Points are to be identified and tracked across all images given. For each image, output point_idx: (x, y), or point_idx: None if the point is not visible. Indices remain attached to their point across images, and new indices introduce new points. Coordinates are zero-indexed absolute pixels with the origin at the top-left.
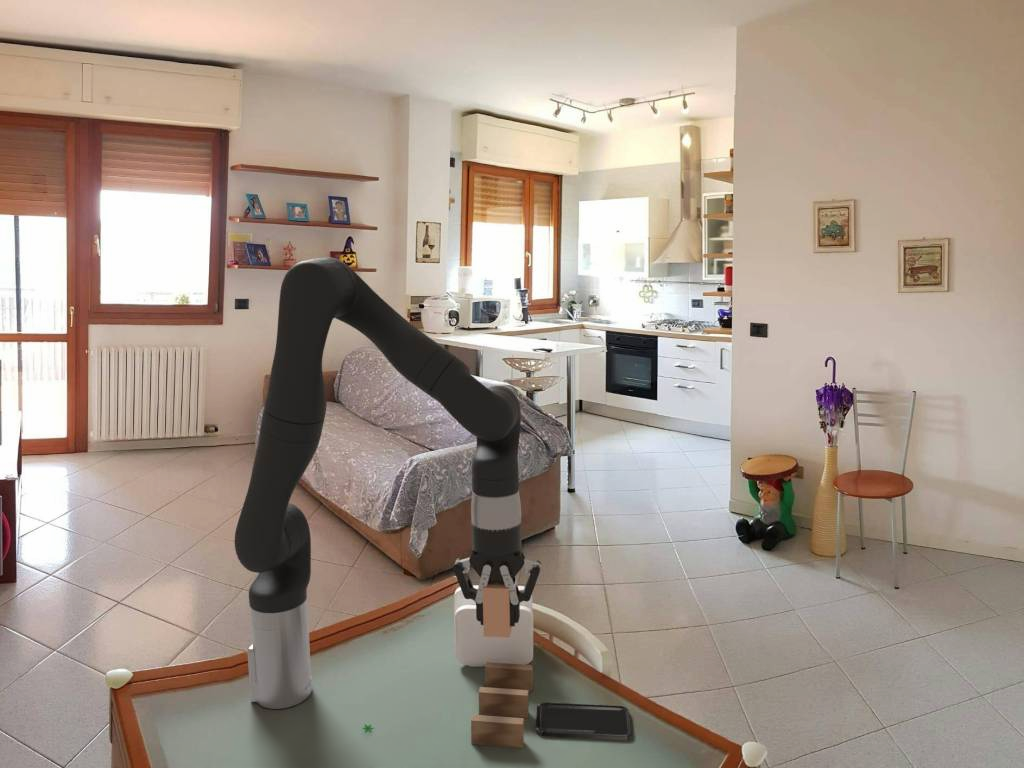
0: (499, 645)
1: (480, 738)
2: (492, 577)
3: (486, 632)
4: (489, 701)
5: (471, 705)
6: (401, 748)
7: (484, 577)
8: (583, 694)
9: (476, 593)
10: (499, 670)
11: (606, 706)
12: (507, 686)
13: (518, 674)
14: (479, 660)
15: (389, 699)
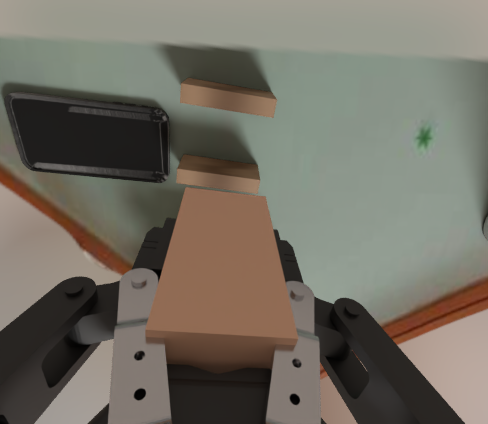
0: None
1: (257, 91)
2: (242, 408)
3: (258, 202)
4: (242, 171)
5: (267, 185)
6: (382, 84)
7: (297, 408)
8: (103, 205)
9: (312, 322)
10: None
11: (59, 171)
12: None
13: None
14: None
15: (382, 201)
